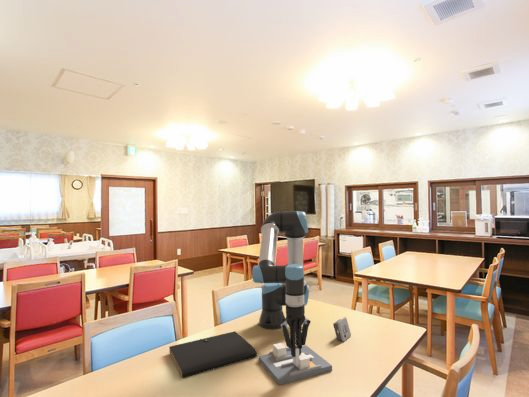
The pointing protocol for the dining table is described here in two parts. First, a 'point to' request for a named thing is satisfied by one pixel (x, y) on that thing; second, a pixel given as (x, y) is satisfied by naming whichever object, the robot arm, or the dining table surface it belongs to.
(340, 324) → the electrical switch
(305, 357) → the outer tab
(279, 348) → the inner tab
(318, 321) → the dining table surface
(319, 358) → the switch panel
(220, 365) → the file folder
